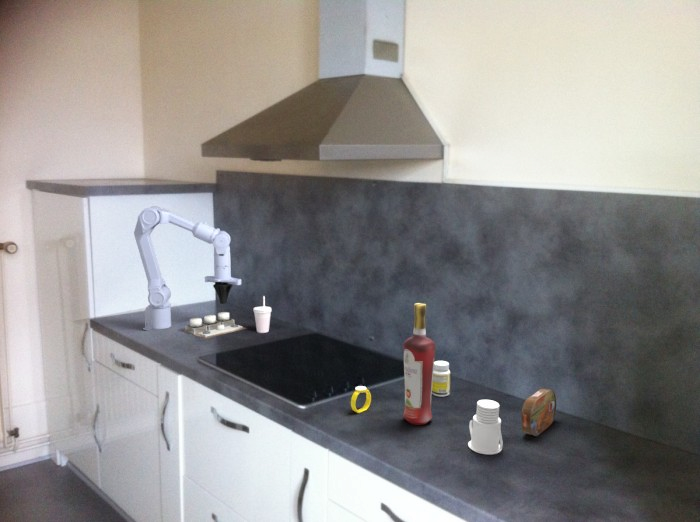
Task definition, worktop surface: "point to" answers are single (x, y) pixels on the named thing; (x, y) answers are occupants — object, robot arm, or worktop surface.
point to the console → (210, 328)
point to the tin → (538, 412)
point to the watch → (353, 400)
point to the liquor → (418, 371)
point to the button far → (223, 316)
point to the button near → (195, 322)
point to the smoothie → (262, 317)
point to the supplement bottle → (441, 379)
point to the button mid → (209, 319)
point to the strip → (220, 330)
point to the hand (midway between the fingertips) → (223, 303)
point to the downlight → (486, 428)
